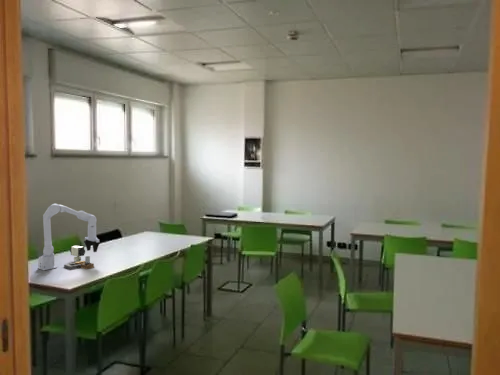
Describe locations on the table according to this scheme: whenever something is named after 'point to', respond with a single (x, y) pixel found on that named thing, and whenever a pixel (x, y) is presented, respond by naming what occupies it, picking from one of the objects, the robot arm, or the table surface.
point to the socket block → (72, 266)
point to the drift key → (79, 262)
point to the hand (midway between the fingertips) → (91, 251)
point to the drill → (87, 260)
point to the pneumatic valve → (77, 252)
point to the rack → (87, 266)
